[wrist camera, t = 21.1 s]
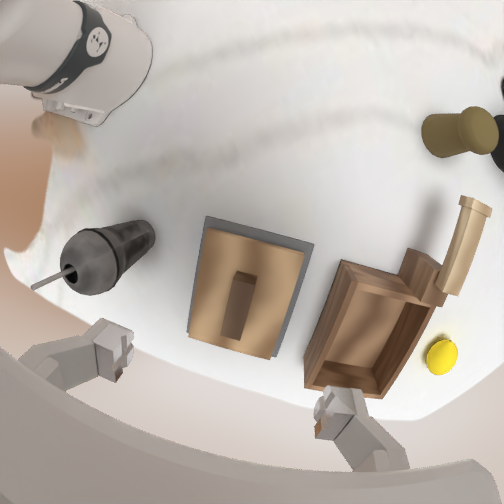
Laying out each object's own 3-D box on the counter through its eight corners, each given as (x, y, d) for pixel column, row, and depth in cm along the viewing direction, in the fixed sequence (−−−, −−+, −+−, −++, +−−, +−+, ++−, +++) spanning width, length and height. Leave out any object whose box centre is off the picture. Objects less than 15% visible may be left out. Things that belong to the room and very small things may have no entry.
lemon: (441, 359, 38) (451, 381, 33) (416, 361, 39) (425, 385, 34) (456, 329, 35) (469, 350, 30) (431, 330, 36) (443, 353, 31)
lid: (192, 329, 41) (181, 347, 36) (211, 226, 36) (199, 235, 31) (270, 351, 40) (268, 372, 35) (303, 250, 35) (305, 263, 30)
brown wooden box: (303, 356, 40) (304, 394, 32) (350, 229, 34) (367, 248, 26) (373, 369, 39) (384, 404, 32) (427, 254, 33) (455, 276, 25)
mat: (187, 330, 41) (186, 332, 41) (206, 215, 36) (205, 216, 35) (276, 355, 41) (276, 357, 40) (313, 243, 35) (314, 244, 35)
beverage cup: (161, 265, 39) (73, 341, 20) (119, 254, 39) (23, 313, 20) (166, 215, 37) (63, 263, 18) (122, 206, 37) (13, 243, 18)
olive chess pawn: (462, 150, 28) (512, 150, 18) (431, 163, 30) (479, 166, 19) (446, 109, 27) (493, 95, 17) (414, 120, 29) (457, 106, 18)
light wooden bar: (431, 282, 26) (441, 292, 24) (460, 195, 23) (474, 198, 20) (450, 288, 26) (460, 298, 23) (479, 204, 23) (492, 208, 20)
